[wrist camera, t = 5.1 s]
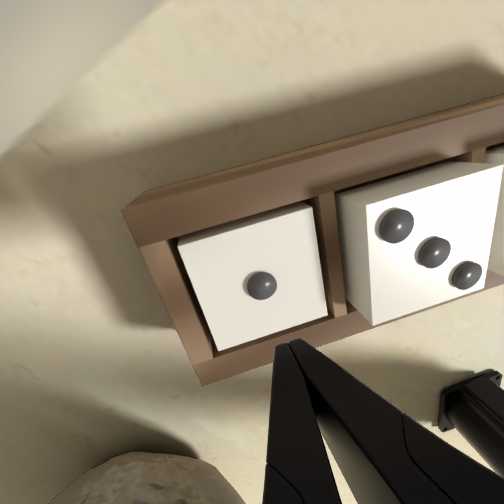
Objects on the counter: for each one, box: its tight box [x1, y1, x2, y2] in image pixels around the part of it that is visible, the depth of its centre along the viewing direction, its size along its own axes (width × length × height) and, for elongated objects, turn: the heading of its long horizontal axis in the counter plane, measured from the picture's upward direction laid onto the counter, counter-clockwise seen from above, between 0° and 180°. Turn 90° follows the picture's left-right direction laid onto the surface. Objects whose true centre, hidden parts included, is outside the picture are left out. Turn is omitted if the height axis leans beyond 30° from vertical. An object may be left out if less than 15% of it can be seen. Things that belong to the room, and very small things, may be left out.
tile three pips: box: [335, 161, 504, 326], centre depth 12 cm, size 6×6×3 cm
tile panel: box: [121, 94, 504, 386], centre depth 15 cm, size 10×24×4 cm, turn 103°
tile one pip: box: [177, 201, 328, 351], centre depth 13 cm, size 6×6×3 cm
